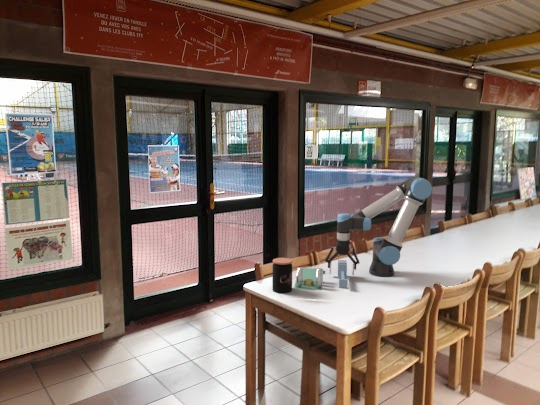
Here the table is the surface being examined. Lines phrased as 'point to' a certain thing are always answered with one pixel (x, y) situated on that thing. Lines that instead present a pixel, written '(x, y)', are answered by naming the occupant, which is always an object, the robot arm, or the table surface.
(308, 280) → the brass nut
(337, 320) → the table surface
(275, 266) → the coffee jar
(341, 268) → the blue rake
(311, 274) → the green mat
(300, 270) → the spacers
